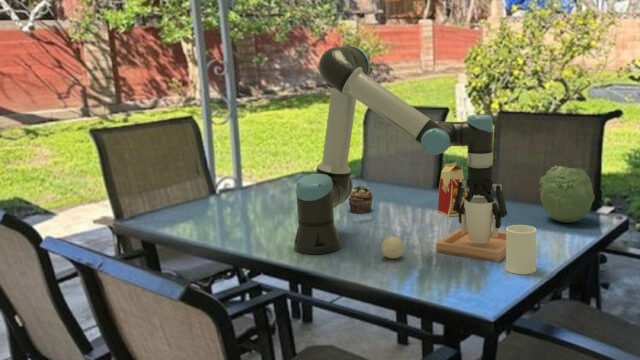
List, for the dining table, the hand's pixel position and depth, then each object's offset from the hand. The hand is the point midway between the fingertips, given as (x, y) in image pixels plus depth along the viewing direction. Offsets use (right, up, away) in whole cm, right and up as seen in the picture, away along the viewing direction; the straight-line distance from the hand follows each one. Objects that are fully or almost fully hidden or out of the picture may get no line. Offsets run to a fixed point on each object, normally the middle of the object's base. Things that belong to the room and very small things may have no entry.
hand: (479, 235), depth 197 cm
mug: (+8, -8, -18) cm, 21 cm away
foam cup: (0, -2, 0) cm, 2 cm away
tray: (0, -4, +1) cm, 4 cm away
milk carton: (0, +5, +42) cm, 42 cm away
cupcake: (-34, +5, +51) cm, 62 cm away
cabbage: (+36, +3, +23) cm, 43 cm away
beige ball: (-28, -7, -5) cm, 29 cm away
